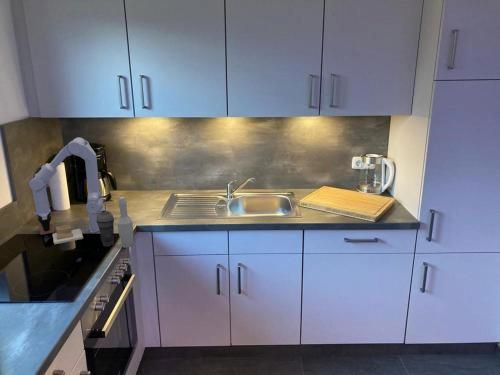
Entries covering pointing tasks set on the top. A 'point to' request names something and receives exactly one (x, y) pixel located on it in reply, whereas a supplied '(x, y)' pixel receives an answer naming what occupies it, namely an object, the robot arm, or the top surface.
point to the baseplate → (75, 236)
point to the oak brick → (64, 231)
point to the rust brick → (46, 231)
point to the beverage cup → (106, 227)
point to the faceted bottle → (125, 225)
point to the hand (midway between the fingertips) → (46, 229)
